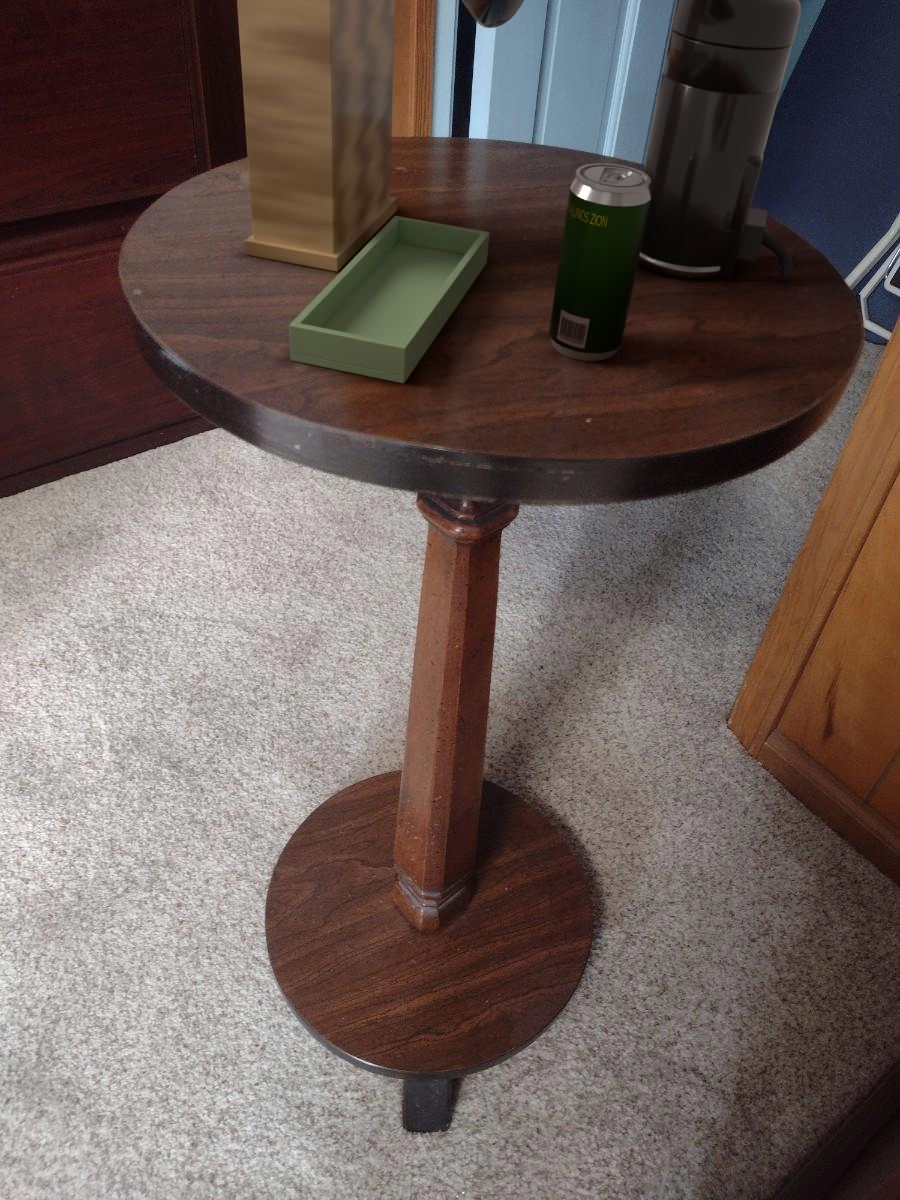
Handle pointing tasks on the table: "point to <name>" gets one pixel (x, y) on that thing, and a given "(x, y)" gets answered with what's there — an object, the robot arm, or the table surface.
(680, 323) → the table surface
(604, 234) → the beer can
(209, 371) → the table surface
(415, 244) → the green rectangular tray
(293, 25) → the stand
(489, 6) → the robot arm
